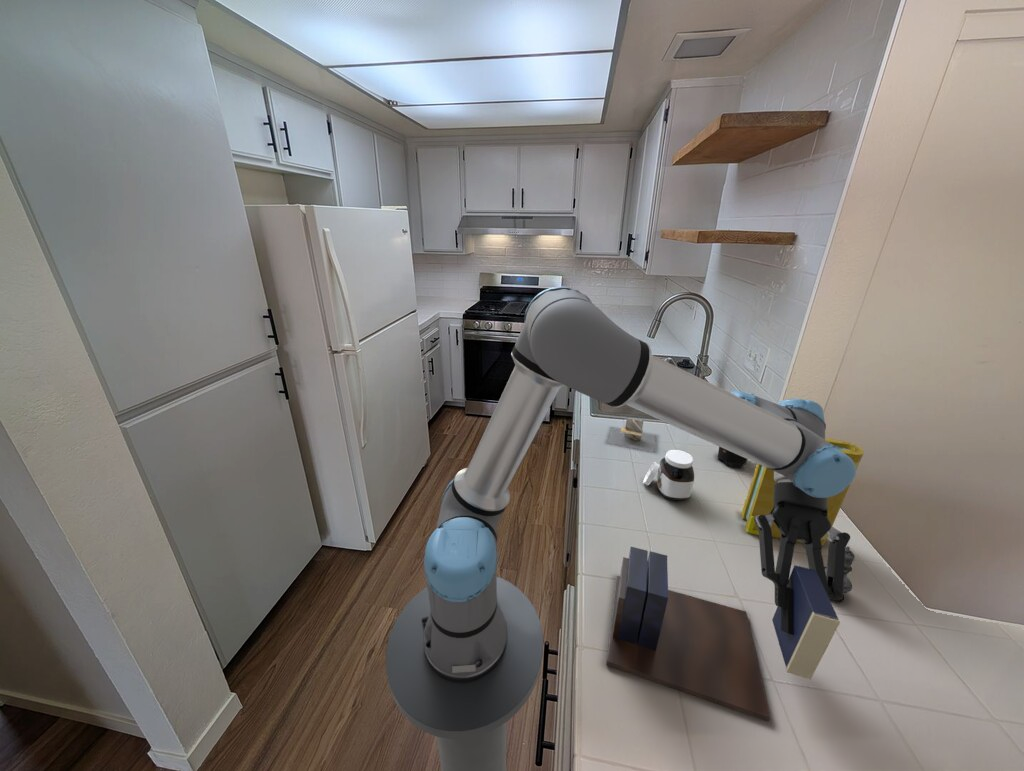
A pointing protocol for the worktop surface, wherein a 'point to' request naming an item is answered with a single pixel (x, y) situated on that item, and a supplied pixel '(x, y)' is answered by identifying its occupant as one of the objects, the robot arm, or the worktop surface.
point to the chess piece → (846, 583)
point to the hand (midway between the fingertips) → (801, 636)
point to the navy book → (806, 623)
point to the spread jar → (673, 475)
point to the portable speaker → (731, 458)
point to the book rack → (682, 638)
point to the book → (763, 493)
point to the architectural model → (633, 436)
